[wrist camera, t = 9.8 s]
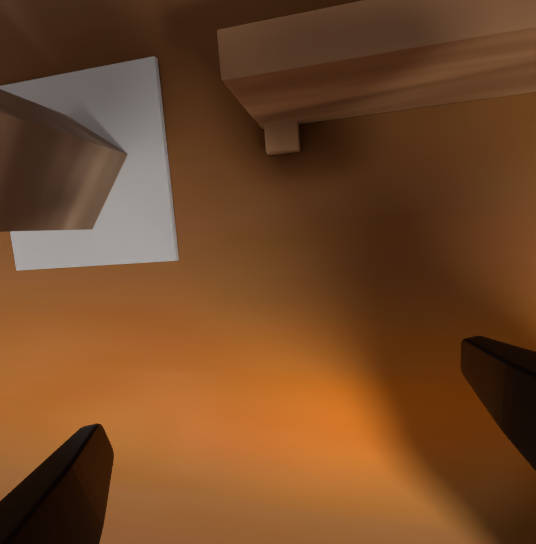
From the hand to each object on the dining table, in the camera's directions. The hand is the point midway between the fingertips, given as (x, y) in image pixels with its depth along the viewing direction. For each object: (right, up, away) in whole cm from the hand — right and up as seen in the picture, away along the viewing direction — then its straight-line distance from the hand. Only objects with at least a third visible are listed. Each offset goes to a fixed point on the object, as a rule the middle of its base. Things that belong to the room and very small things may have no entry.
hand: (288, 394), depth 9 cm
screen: (+6, +11, +7) cm, 14 cm away
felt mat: (-10, +8, +11) cm, 17 cm away
